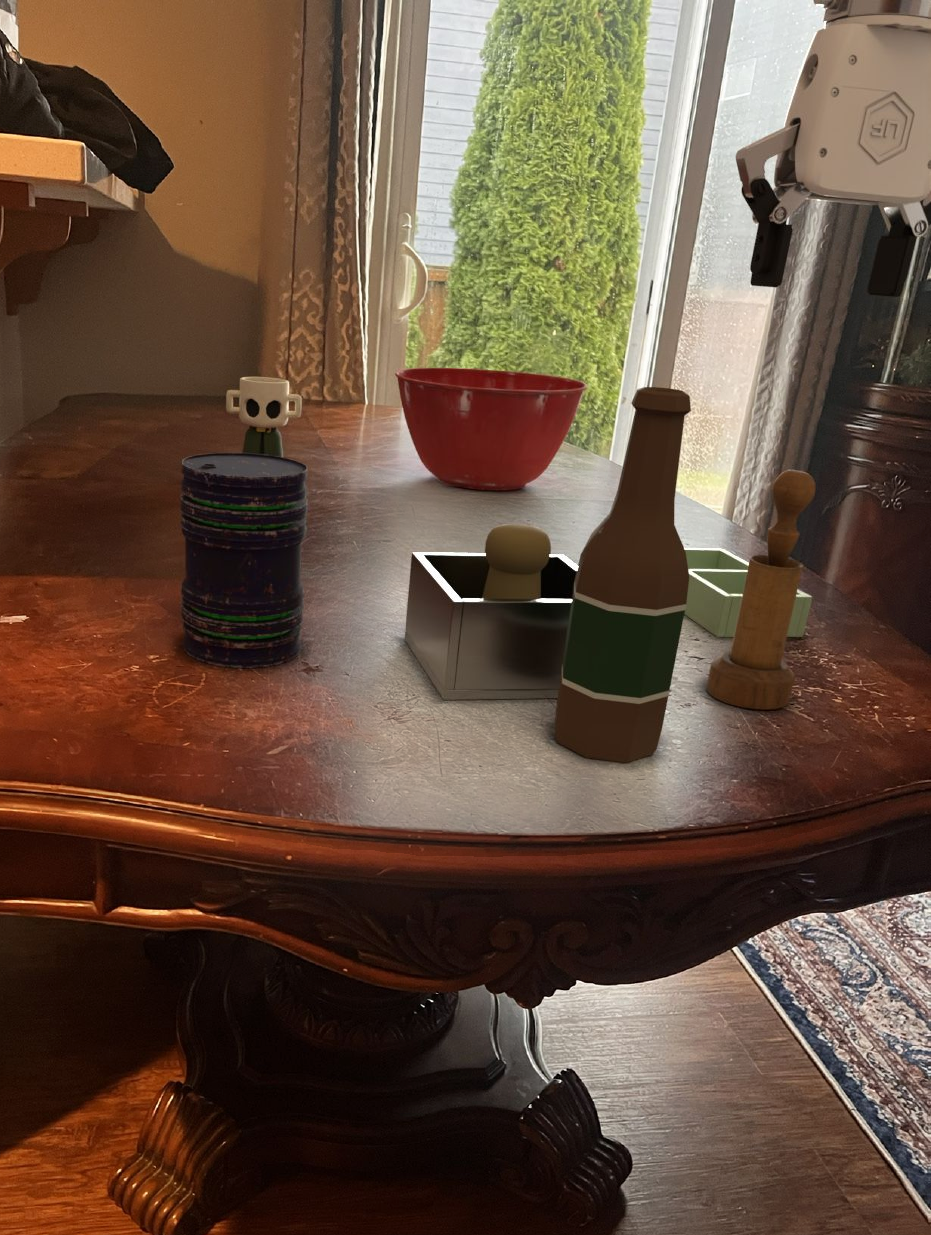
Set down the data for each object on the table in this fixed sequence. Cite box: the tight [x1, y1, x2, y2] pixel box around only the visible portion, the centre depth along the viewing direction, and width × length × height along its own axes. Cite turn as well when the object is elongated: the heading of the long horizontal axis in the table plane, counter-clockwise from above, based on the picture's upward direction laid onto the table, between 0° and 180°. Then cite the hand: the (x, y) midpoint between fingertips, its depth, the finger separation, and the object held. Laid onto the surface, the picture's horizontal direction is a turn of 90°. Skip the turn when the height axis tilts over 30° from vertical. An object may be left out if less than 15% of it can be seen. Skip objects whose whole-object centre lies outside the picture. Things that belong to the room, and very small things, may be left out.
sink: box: [404, 551, 578, 701], centre depth 85 cm, size 14×14×8 cm
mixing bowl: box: [394, 367, 588, 491], centre depth 158 cm, size 28×28×16 cm
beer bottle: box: [554, 386, 692, 764], centre depth 70 cm, size 8×8×24 cm
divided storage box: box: [684, 547, 813, 638], centre depth 106 cm, size 9×17×4 cm, turn 12°
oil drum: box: [179, 452, 309, 669], centre depth 84 cm, size 10×10×15 cm
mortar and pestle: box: [705, 469, 816, 711], centre depth 81 cm, size 7×6×18 cm
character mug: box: [225, 376, 303, 458], centre depth 154 cm, size 11×7×13 cm, turn 93°
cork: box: [482, 523, 552, 599], centre depth 84 cm, size 6×6×11 cm
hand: (824, 291), depth 76 cm, fingers open, 9 cm apart
